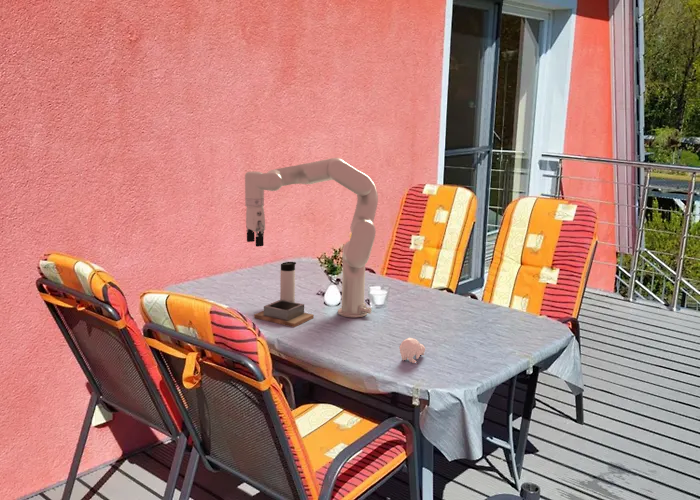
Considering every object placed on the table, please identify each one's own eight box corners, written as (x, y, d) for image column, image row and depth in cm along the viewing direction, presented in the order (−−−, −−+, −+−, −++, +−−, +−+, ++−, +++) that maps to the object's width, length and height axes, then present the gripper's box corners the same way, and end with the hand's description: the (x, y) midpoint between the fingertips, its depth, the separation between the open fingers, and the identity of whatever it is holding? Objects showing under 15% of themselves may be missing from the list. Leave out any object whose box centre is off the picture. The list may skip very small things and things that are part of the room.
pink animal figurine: (398, 337, 233) (416, 332, 243) (396, 361, 235) (414, 355, 244) (414, 341, 230) (431, 336, 239) (412, 366, 231) (429, 359, 241)
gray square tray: (304, 313, 280) (304, 304, 279) (287, 321, 270) (287, 311, 269) (280, 308, 286) (280, 299, 285) (263, 315, 276) (263, 306, 275)
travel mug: (293, 309, 290) (293, 264, 286) (278, 307, 292) (278, 263, 287) (297, 305, 296) (297, 260, 292) (282, 303, 298) (283, 259, 293)
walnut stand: (313, 318, 279) (313, 314, 279) (294, 327, 267) (294, 323, 267) (274, 309, 289) (274, 306, 289) (254, 318, 277) (254, 314, 277)
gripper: (271, 204, 267) (271, 247, 270) (255, 199, 281) (255, 239, 285) (253, 206, 263) (254, 248, 267) (238, 200, 278) (238, 240, 281)
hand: (255, 243), depth 276 cm, fingers open, 9 cm apart
